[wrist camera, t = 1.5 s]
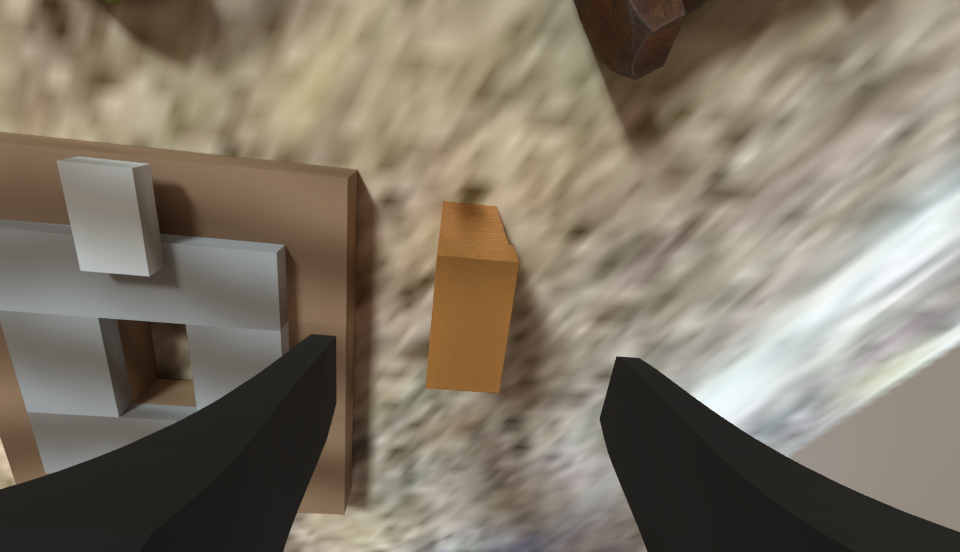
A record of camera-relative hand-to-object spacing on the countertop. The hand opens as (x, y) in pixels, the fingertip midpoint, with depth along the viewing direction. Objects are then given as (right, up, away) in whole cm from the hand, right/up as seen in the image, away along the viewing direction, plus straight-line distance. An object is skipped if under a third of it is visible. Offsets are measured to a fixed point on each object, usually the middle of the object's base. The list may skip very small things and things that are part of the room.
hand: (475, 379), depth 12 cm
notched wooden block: (-1, +4, +10) cm, 11 cm away
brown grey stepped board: (-14, 0, +11) cm, 18 cm away
